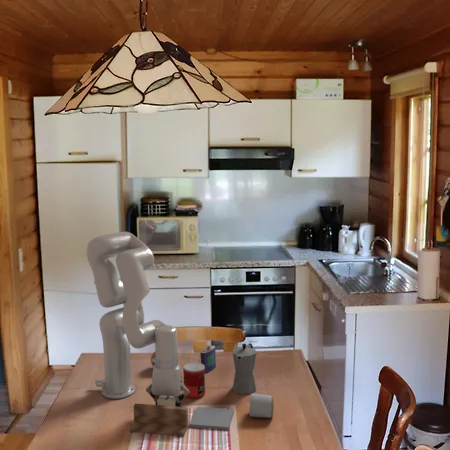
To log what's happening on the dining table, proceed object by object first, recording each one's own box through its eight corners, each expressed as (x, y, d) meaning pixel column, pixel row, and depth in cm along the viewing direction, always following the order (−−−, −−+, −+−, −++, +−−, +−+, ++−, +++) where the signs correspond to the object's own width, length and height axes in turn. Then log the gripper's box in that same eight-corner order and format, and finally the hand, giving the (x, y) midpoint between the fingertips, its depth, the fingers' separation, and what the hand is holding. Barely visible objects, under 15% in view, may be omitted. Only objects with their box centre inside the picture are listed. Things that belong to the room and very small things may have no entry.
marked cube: (157, 416, 187) (157, 400, 187) (162, 408, 193) (161, 392, 192) (174, 418, 186) (174, 401, 186) (178, 409, 192) (178, 393, 191)
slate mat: (189, 426, 181) (189, 424, 180) (197, 409, 192) (197, 406, 192) (228, 430, 178) (228, 427, 178) (233, 411, 190) (233, 409, 190)
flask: (212, 365, 229) (211, 340, 228) (218, 366, 228) (217, 342, 226) (199, 373, 222) (199, 348, 220) (205, 374, 220) (205, 349, 218)
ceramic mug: (273, 421, 183) (273, 400, 182) (249, 420, 184) (249, 399, 183) (273, 407, 194) (273, 386, 193) (250, 406, 195) (250, 385, 193)
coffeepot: (250, 398, 200) (250, 351, 197) (226, 394, 203) (226, 348, 200) (263, 381, 214) (263, 337, 211) (240, 377, 217) (240, 334, 214)
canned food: (202, 400, 199) (202, 371, 197) (181, 398, 201) (180, 369, 199) (207, 390, 206) (206, 363, 205) (187, 388, 208) (186, 361, 206)
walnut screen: (130, 431, 178) (129, 411, 177) (135, 423, 183) (135, 403, 182) (184, 436, 175) (183, 415, 174) (188, 427, 180) (187, 407, 179)
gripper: (139, 365, 185) (141, 414, 188) (188, 368, 182) (190, 418, 185) (145, 356, 192) (147, 404, 195) (193, 359, 189) (194, 407, 192)
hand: (168, 410), depth 190 cm, fingers closed on marked cube, 6 cm apart
